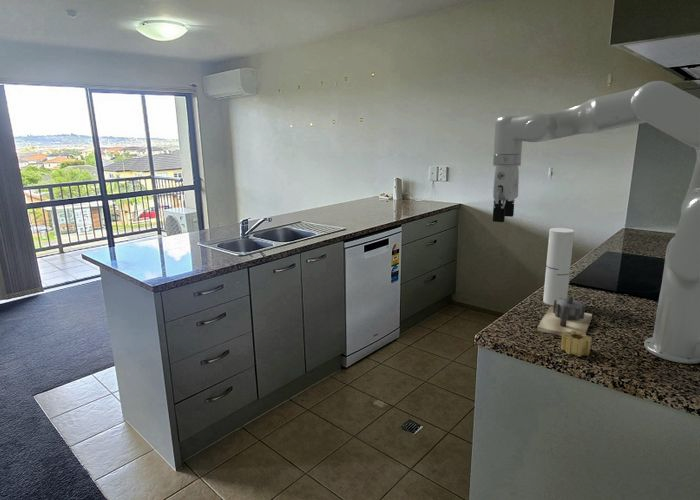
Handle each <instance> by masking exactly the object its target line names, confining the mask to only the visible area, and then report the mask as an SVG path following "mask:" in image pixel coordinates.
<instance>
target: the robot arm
mask: <svg viewBox="0 0 700 500" xmlns="http://www.w3.org/2000/svg"><path fill="white" fill-rule="evenodd" d="M646 123H647V124H649V125H651V126H652V127H654V128H656V129H658V130H659V131H661V132H663V133H664V134H666V135H669V136H670V137H672V138H674V139H675V140H678V141H680V142H681V143H683V144H686V145H687V146H689V147H691V148H694V149H695V151H696V159H695V165H694V168H693V171H692V176H691V180H690V183H689V186H688V190H686V191H687V192H686V195H685V197H684V199H683V201H682V203H681V207H680V217H679V222H678V225H677V228H676V231H675V235H674V236H673V237H672V238H671V239H670V240H669V242H668V243H667V247H666V250H665V258H664V265H663V267H664V268H663V272H662V281H661V285H660V291H659V297H658V301H657V302H658V304H657V309H656V314H655V315H656V316H655V321H654V328H653V334H652V336H651V337H649V338H646V339H645V340H644V342H643V343H644V344H643V347H644V348H645V349H646V350H647V352H649V353H650V354H652V355H653V356H656V357H659V358H661V359H662V360H663V359H664V360H666V361H670V362H673V363H680V364H681V363H682V364H699V363H700V98H698V97H697V96H695V95H692V94H691V93H689V92H687V91H684V90H683V89H681V88H679V87H677V86H675V85H674V84H671V83H669V82H666V81H665V80H653V81H650V82H649V81H648V83H645V84H644V85H642V86H639V87H635V88H631V89H628V90H623V91H618V92H616V93H611V94H606V95H601V96H597V97H594V98H591V99H588V100H587V101H585V102H583V103H581V104H579V105H576V106H573V107H569V108H566V109H561V110H556V111H553V112H549V113H532V114H531V113H530V114H525V115H504V116H503V115H502V116H499V117H497V118H496V120H495V124H494V142H493V143H494V144H493V160H492V162H493V163H492V166H493V167H495V170H494V171H495V172H494V179H493V190H492V191H493V195H492V197H493V206H492V207H493V209H492V222H494V223H495V222H496V223H504V222H505V217H509V218H511V217H514V214H515V213H514V212H515V211H514V210H515V199H517V198H518V196H519V184H520V183H519V182H520V180H519V179H520V178H519V177H520V174H519V173H520V171H519V167H520V166H521V162H522V152H523V151H522V148H523V142H529V143H541V142H548V141H551V140H557V139H561V138H566V137H572V136H578V135H582V134H583V135H585V134H594V133H600V132H604V131H610V130H614V129H615V130H616V129H619V128H625V127H629V126H635V125H640V124H641V125H642V124H646Z"/></svg>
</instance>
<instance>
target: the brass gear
mask: <svg viewBox="0 0 700 500" xmlns="http://www.w3.org/2000/svg"><path fill="white" fill-rule="evenodd" d="M592 340H593V339H592V337H591V336H589V335H587V332H586V333H583V332H582V333H579V332H576V331H571V332H566V331H565V332H564V333H563V335H562V336H561V345H560V350H562V351H565V353H566V354H567V355H573V356H576V357H578V358H579V357H580V358H581V357H582V356H586V357H588V356H589V355H590V353H591V346H592Z"/></svg>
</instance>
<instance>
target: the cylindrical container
mask: <svg viewBox="0 0 700 500" xmlns="http://www.w3.org/2000/svg"><path fill="white" fill-rule="evenodd" d="M548 232H549V234H548V244H547V254H546V265H545V266H546V267H545V275H544V287H543V299H542V302H543V303H544V304H546V305H548V306H551V307H554V300H559V298H563V299H567V296H568V292H569V284H570V283H569V282H570V274H571V264H572V255H573V253H572V252H573V246H574V245H573V244H574V236H575V230H574V229H572V228H567V227H551V228H549V231H548Z"/></svg>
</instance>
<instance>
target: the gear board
mask: <svg viewBox="0 0 700 500" xmlns="http://www.w3.org/2000/svg"><path fill="white" fill-rule="evenodd" d="M585 311H586V305H585V304H584V302H583V301H582V300H580V301H579V300H576V299H574V297H573V295H567V299H563V298H559V300H554V306H549V307H548V309H547V311H546V312H545V314H544V315H543V317H542V319H541V320H540V322H539V323H538V325H537V328H536V331H537V332H541V333H546V334H551V335H556V336H560V337H562V335H563V333H564V332H565V331H566V332H571V331H576V332H579V333H582V332H583V333H586V334H587V332H588V330H589V326H590V324H591V322H592V321H591V320H592V319H593V318H592V317H593V313H587V312H585Z"/></svg>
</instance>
